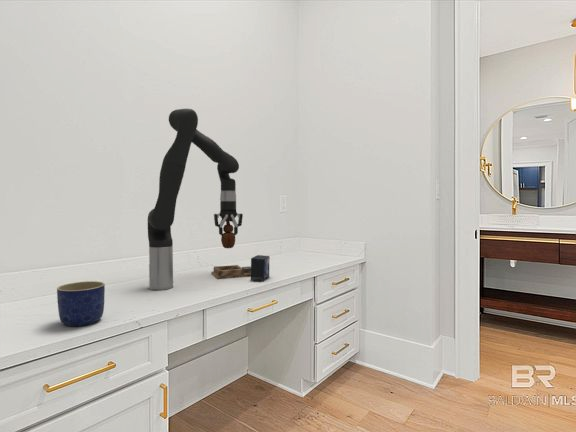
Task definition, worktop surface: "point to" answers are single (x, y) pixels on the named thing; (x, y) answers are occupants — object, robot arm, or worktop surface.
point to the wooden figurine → (228, 236)
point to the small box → (260, 268)
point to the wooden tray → (231, 271)
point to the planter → (81, 302)
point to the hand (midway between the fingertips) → (228, 235)
